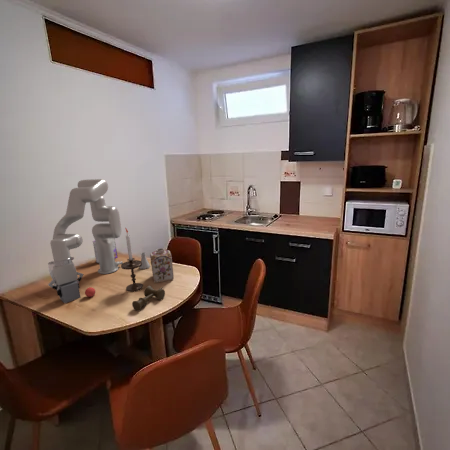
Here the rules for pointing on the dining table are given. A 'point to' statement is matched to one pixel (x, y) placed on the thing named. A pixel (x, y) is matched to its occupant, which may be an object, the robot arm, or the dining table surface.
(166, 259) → the decorative jar
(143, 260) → the flask
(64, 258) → the robot arm
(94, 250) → the white carton
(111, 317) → the dining table surface
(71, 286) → the matte gray cube
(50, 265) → the beer glass
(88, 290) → the ball
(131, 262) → the candlestick
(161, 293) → the kendama
